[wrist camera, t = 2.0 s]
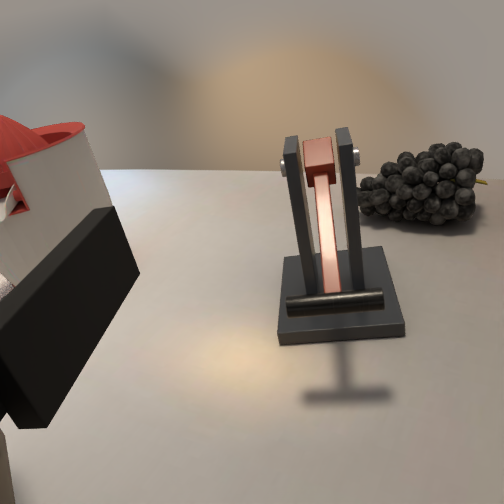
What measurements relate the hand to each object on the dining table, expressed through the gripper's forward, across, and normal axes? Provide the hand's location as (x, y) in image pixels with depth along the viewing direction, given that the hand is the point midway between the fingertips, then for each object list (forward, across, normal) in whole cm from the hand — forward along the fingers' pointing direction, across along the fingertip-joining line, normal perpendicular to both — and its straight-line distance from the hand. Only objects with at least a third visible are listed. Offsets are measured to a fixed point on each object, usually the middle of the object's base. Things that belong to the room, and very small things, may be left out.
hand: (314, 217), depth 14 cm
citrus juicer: (+29, -32, -18) cm, 47 cm away
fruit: (+35, +10, -18) cm, 40 cm away
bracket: (+20, 0, -18) cm, 27 cm away
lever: (+16, 0, -9) cm, 18 cm away
